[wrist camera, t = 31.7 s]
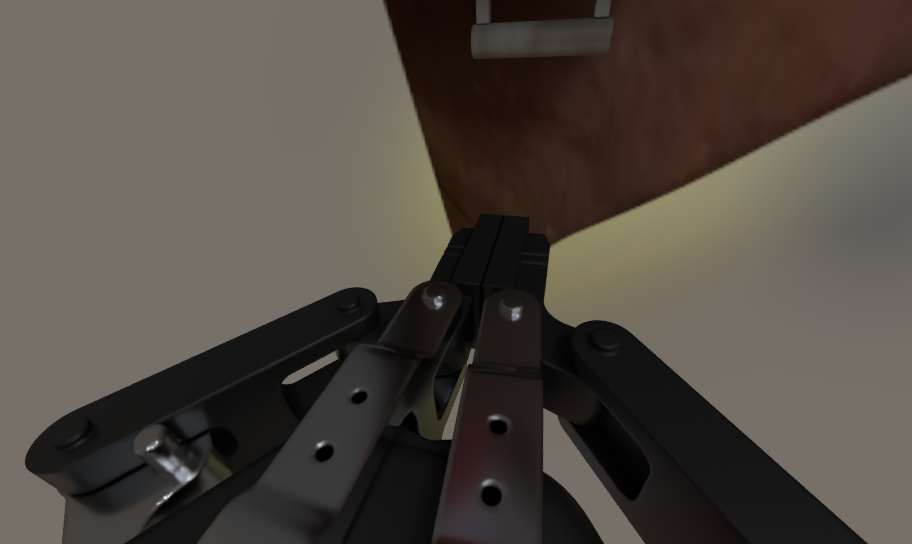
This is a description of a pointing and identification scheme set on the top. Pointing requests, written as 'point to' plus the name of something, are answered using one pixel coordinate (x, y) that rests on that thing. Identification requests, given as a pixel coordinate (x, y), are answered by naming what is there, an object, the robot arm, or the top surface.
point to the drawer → (541, 35)
